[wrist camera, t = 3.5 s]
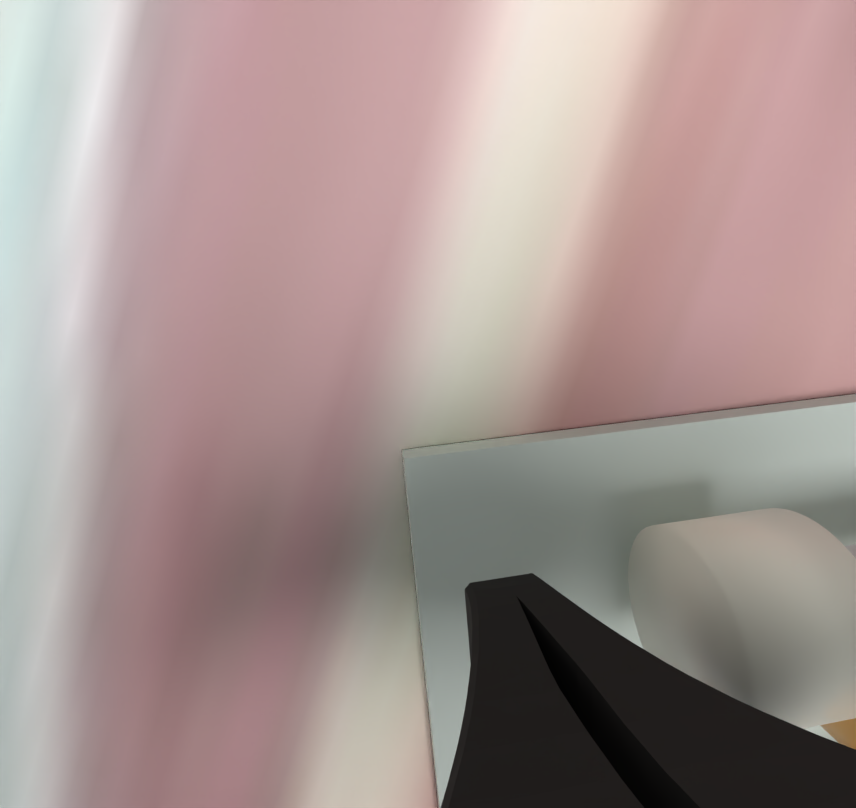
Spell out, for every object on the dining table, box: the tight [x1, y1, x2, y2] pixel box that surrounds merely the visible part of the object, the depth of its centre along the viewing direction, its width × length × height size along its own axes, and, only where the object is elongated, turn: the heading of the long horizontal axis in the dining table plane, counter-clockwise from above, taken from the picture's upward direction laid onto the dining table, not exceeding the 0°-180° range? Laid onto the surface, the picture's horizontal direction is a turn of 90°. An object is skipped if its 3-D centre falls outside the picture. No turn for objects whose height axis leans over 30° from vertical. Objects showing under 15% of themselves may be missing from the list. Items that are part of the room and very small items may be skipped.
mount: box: [402, 394, 856, 808], centre depth 11 cm, size 15×14×6 cm
